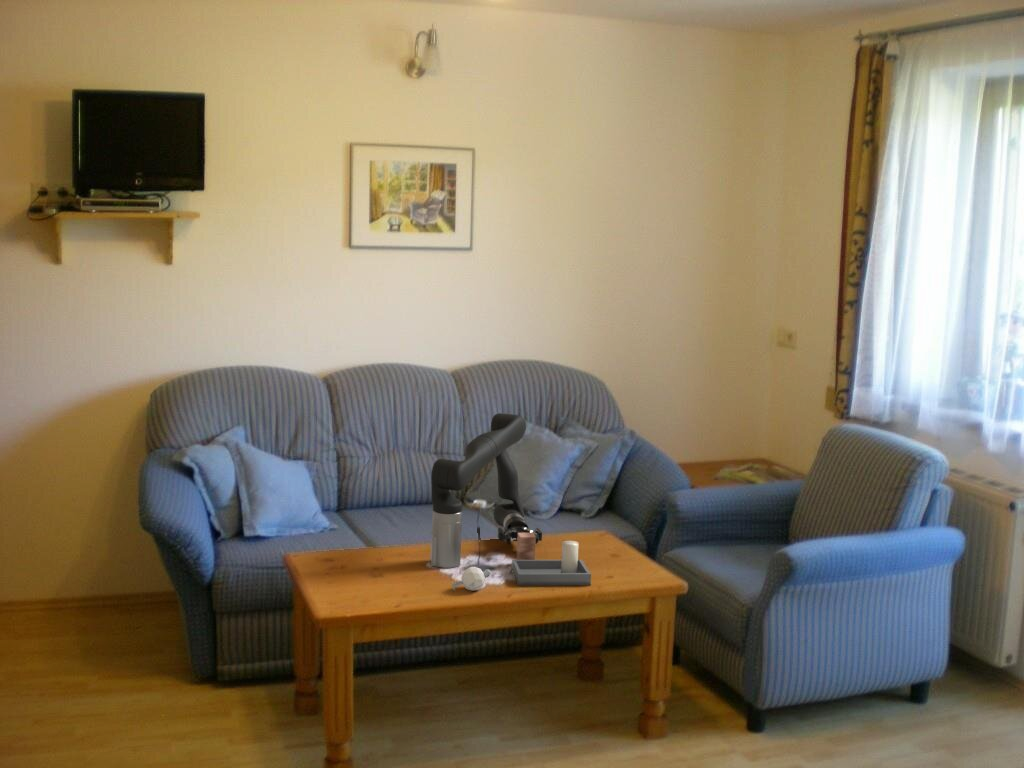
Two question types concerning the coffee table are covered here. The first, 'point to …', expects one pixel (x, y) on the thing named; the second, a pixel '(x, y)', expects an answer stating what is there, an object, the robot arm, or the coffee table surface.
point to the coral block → (526, 546)
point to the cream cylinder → (569, 557)
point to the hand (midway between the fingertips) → (522, 541)
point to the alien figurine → (473, 578)
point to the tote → (548, 573)
